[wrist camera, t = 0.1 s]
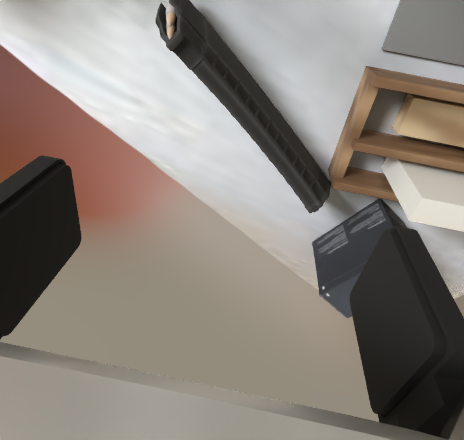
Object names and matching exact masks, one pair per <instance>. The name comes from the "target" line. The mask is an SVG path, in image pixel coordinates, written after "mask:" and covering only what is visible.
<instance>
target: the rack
mask: <svg viewBox="0 0 464 440" xmlns="http://www.w3.org/2000/svg"><path fill="white" fill-rule="evenodd" d="M379 87H380V88H385V89H390V90H395V91H400V92H406V93H411V94H416V95H421V96H426V97H431V98H436V99H441V100H446V101H451V102H457V103H462V104H464V85H461V84H456V83H451V82H446V81H441V80H436V79H431V78H426V77H421V76H415V75H410V74H405V73H400V72H395V71H390V70H385V69H380V68H374V67H369V66H366V68H365V71H364V74H363V76H362V79H361V82H360V85H359V87H358V90H357V93H356V95H355V98H354V101H353V104H352V106H351V109H350V112H349V114H348V117H347V120H346V123H345V125H344V128H343V131H342V134H341V136H340V139H339V142H338V144H337V147H336V150H335V153H334V155H333V158H332V161H331V163H330V166H329V169H328V170H329V174H330V179H331V183H332V187H333V189H338V190H343V191H348V192H353V193H358V194H363V195H368V196H373V197H378V198H383V199H388V200H393V201H398V199H397V197H396V195H395V193H394V191H393V189H392V187H391V185H390V184H389V182H388V180H387V178H386V176H385V174H382V173H377V172H372V171H367V170H362V169H357V168H352V167H348V164H349V162H350V159H351V157H352V154H353V152H354V150H355V151H360V152H365V153H370V154H375V155H380V156H385V157H390V158H395V159H400V160H405V161H410V162H415V163H420V164H425V165H430V166H435V167H440V168H445V169H451V170H456V171H461V172H464V149H461V148H456V147H451V146H446V145H441V144H436V143H431V142H426V141H420V140H415V139H410V138H405V137H400V136H395V135H390V134H385V133H380V132H375V131H370V130H365V129H363V127H364V125H365V122H366V120H367V117H368V115H369V112H370V110H371V107H372V105H373V102H374V100H375V97H376V95H377V92H378V90H379ZM398 202H399V201H398Z"/></svg>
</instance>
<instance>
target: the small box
mask: <svg viewBox="0 0 464 440" xmlns="http://www.w3.org/2000/svg"><path fill="white" fill-rule="evenodd" d="M393 226H399V227H404V228H406V226H405V223H404V222H403V221H402V220H401V219H400V218H399V217H398V216H397V215H396V214H395V213H394V212H393V211H392V210H391V209H390V208H389V207H388V205H387V204H386V203H385V202H384V201H383V200H382V199H381V198H379V199H378V200H376V201H375V202H373V203H372V204H370V205H368V206H367V207H365V208H364V209H362V210H361V211H359V212H358V213H356V214H355V215H353V216H352V217H350V218H349V219H347V220H345V221H344V222H342V223H341V224H339V225H338V226H336V227H335V228H333V229H332V230H330V231H329V232H327V233H326V234H324V235H322V236H321V237H319V238H318V239H316V240H315V241H313V242H312V245H313V250H314V257H315V264H316V271H317V278H318V286H319V295H320V296H321V297H322V298H323V299H324V300H325V301H327V302H328V303H329V304H330V305H331V306H333V307H334V308H335V309H336V310H337V311H338V312H340V313H341V314H342V315H343V316H345V317H346V318H349V317H351V316H352V311H351V306H350V293H351V291H352V289H353V287H354V285H355V283H356V281H357V279H358V278H359V276H360V274H361V272H362V270H363V268H364V266H365V265H366V263H367V261H368V259H369V257H370V255H371V254H372V252H373V250H374V248H375V246H376V244H377V243H378V241H379V239H380V237H381V235H382V233H383V232H384V231H385V230H387V229H388V230H390V229H391V228H392V227H393Z"/></svg>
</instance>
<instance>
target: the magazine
mask: <svg viewBox="0 0 464 440" xmlns="http://www.w3.org/2000/svg"><path fill="white" fill-rule="evenodd" d="M156 24H157V26H158V27H159V30H160V35H161V38H162V39H163V40H164V41H165V42H166V46H167V48H168V49H169V50H170V51H173V52H174V53H175V54H176V55H177V56H178V57H179V58H180V59H181V60H182V61H183V62H184V63H185V65H186V66H187V67H188V68H189V69H190V70H192V71H193V72H194V73H195V74H196V75H197V77H198V78H199V79H200V80H201V81H202V82H203V83H204V84H205V85H206V86H207V87H208V88H209V90H210V91H211V92H212V93H213V94H214V95H215V96H216V97H217V98H218V99H219V101H220V102H221V103H222V104H223V105H224V106H225V107H226V108H227V109H228V111H229V112H230V113H231V115H232V116H233V117H234V118H235V119H236V120H237V121H238V122H239V123H240V125H241V126H242V127H243V128H244V129H245V130H246V131H247V133H248V134H249V135H250V136H251V138H252V139H253V140H254V141H255V142H256V143H257V145H258V146H259V147H260V149H261V150H262V151H263V152H264V153H265V154H266V156H267V157H268V158H269V160H270V161H271V162H272V163H273V164H274V166H275V167H276V168H277V169H278V171H279V172H280V174H282V175H283V177H284V178H285V180H286V181H287V183H288V184H289V185H290V186H291V187H292V189H293V190H294V192H295V193H296V195H297V196H298V197H299V198H300V200H301V201H302V202H303V204H304V205H305V208H306V209H307V210H308V212H309V213H312V212H316V211H318V210H319V208H321V207H322V206H323V203H324V202H325V201H326V200H327V199H328V197H329V193H330V187H331V182H330V180H328V179H327V178H326V176H325V175H324V173H323V172H322V171H321V169H320V168H319V166H318V165H317V164H316V162H315V161H314V159H313V158H312V157H311V155H310V154H309V152H308V151H307V150H306V148H305V147H304V146H303V144H302V143H301V141H300V140H299V139H298V137H297V136H296V135H295V133H294V132H293V130H292V129H291V128H290V126H289V125H288V124H287V122H286V121H285V120H284V118H283V117H282V116H281V114H280V113H279V112H278V110H277V109H276V108H275V106H274V105H273V104H272V102H271V101H270V100H269V98H268V97H267V96H266V95H265V93H264V92H263V91H262V89H261V88H260V87H259V85H258V84H257V83H256V82H255V80H254V79H253V78H252V77H251V75H250V74H249V73H248V71H247V70H246V69H245V68H244V66H243V65H242V64H241V63H240V61H239V60H238V59H237V58H236V57H235V55H234V54H233V53H232V52H231V50H230V49H229V48H228V47H227V46H226V44H225V43H224V42H223V41H222V39H221V38H220V37H219V36H218V35H217V33H216V32H215V31H214V30H213V28H212V27H211V26H210V25H209V24H208V22H207V21H206V20H205V18H204V17H203V16H202V15H201V13H200V12H199V11H198V10H197V9H196V8H195V6H194V5H193V4H192V3H191V2H190V1H189V0H168V2H167V8H165V7H164V5H163V4H162V3H161V4H160V6H159V8H158V12H157V16H156Z"/></svg>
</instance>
